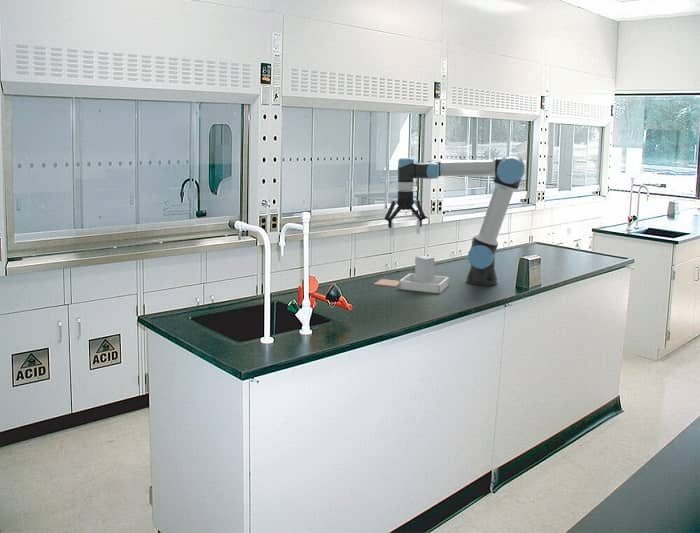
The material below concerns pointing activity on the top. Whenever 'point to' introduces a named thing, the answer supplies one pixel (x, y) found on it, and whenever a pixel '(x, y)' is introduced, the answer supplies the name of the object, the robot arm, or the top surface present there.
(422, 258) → the skincare box
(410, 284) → the bin
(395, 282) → the tile
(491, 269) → the robot arm
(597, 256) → the top surface
